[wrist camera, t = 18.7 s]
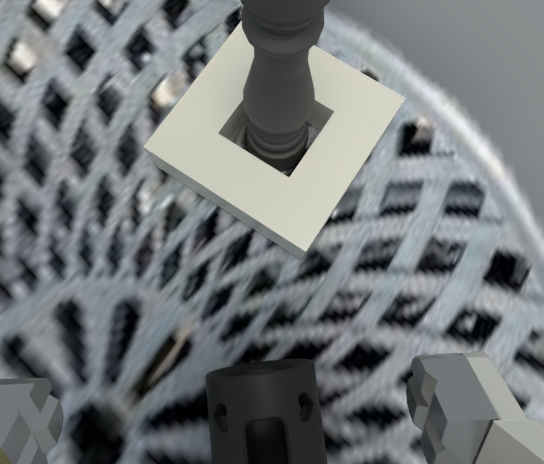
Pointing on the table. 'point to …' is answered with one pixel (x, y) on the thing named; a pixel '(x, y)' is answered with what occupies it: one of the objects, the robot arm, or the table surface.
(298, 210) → the socket block
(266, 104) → the candle holder
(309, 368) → the muzzle brake
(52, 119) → the table surface
